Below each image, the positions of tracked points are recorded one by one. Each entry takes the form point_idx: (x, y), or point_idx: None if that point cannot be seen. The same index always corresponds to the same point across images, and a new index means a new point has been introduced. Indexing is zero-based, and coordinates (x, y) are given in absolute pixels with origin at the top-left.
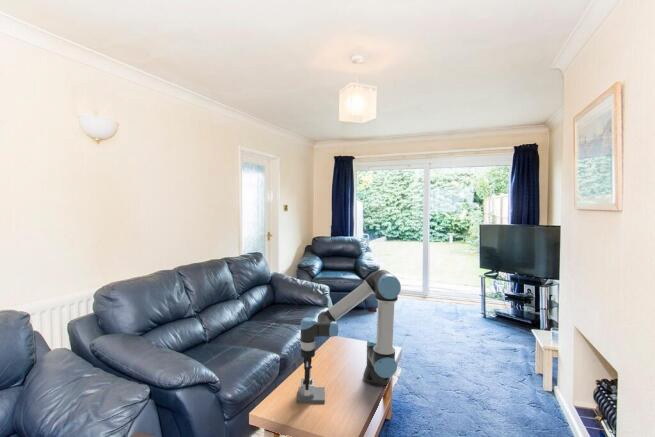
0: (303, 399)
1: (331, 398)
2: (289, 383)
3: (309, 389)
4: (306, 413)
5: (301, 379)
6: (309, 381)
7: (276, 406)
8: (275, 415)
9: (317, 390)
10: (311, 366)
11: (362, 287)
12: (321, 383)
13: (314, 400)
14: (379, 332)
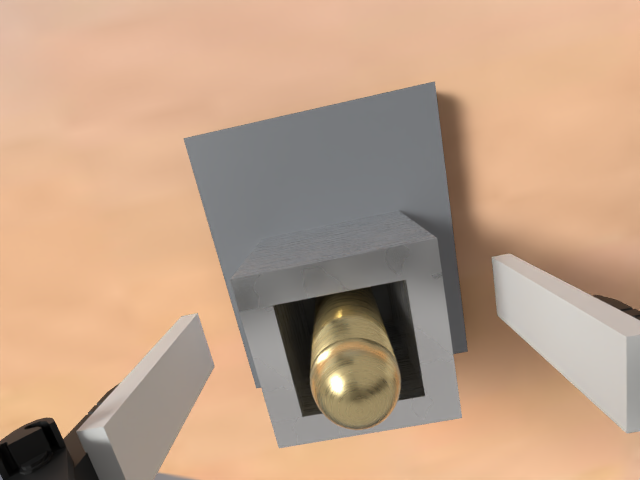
0: (451, 300)
1: (327, 33)
2: (185, 459)
3: (562, 282)
4: (594, 226)
5: (296, 441)
6: (377, 334)
7: (511, 464)
8: (622, 441)
9: (269, 202)
10: (3, 451)
11: None
12: (89, 198)
13: (447, 194)
14: None
